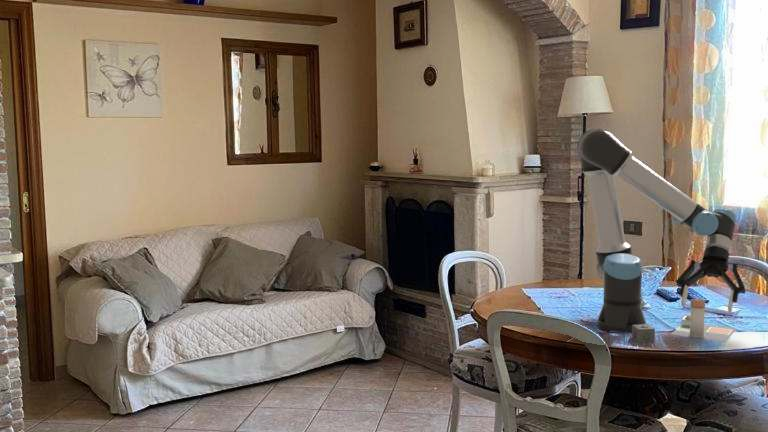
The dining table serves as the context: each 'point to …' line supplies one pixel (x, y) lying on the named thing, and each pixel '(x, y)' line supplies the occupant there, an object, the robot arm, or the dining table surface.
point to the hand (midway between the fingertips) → (705, 307)
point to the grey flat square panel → (707, 333)
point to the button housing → (685, 322)
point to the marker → (697, 317)
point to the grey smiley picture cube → (643, 333)
